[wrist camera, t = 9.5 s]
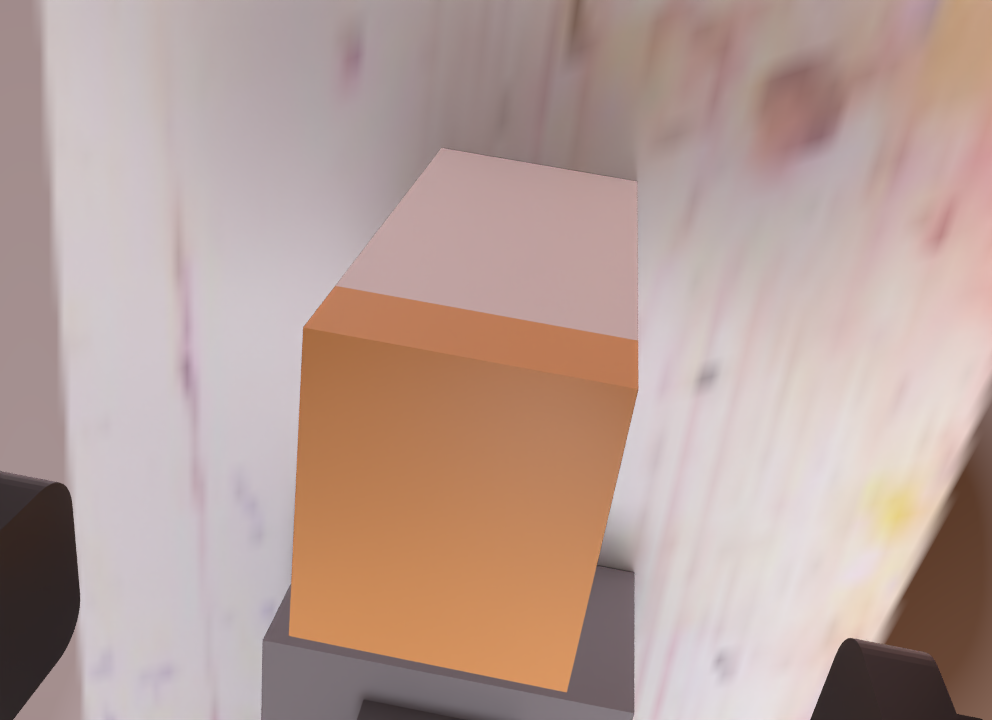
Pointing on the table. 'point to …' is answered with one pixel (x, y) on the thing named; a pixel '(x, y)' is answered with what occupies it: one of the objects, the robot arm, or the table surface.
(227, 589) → the table surface
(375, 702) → the power strip
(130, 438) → the table surface
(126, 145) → the table surface
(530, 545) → the orange-topped block
